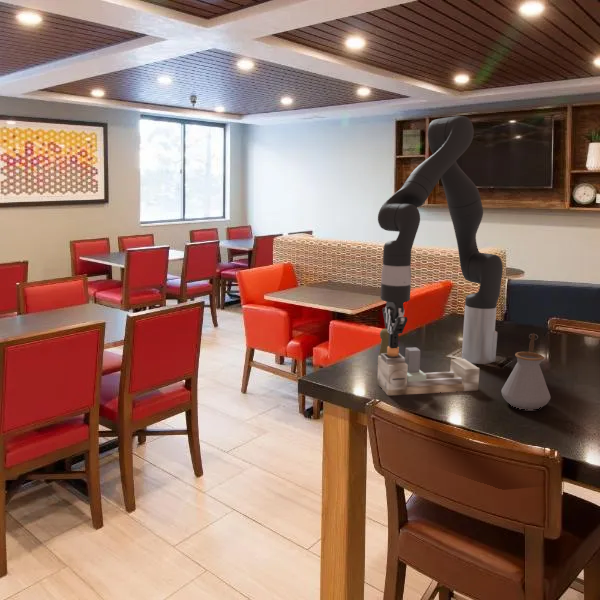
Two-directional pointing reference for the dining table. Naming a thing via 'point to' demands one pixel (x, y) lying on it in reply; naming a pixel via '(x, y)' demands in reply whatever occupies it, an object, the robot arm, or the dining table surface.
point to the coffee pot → (527, 381)
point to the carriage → (414, 365)
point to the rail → (396, 383)
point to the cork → (384, 341)
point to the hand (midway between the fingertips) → (393, 347)
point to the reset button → (392, 351)
